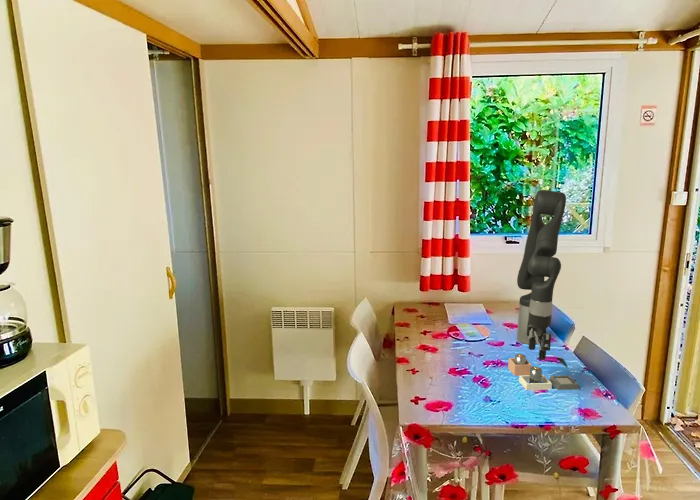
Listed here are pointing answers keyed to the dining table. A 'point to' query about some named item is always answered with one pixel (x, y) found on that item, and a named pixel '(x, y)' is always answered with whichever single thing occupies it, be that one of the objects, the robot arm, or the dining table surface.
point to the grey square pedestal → (563, 386)
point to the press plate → (563, 380)
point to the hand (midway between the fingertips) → (536, 354)
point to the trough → (534, 386)
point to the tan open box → (519, 368)
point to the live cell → (535, 375)
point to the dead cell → (520, 359)
